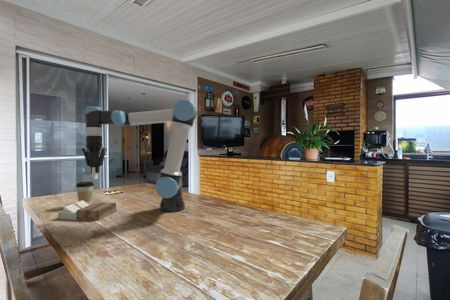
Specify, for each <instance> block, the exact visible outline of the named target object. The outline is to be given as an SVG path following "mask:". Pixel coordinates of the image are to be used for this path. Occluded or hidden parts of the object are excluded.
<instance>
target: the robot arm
mask: <svg viewBox="0 0 450 300" xmlns="http://www.w3.org/2000/svg"><path fill="white" fill-rule="evenodd" d="M197 113H198V112H197V109H196V106H195V103H193V102H192V101H191V100H190V99H186V98H181V99H179V100H177V101H175V103H174V105H173V107H172V108H171V109H170V108H169V109H159V110H148V111H137V112H124V111H123V110H117V109H115V110H102V108H101V106H93V105H92V106H91V105H90V106H87V107H85V113H84V116H85V135H86V137H85V142H86V146H85V147H84V148H82V149H81V151H82V152H83V155H84V160H85V163H86V166H87V167H90V173H91V179H92V180H98V179H99V173H100V167H102V166H103V165H104V160H105V154H106V152H107V150H108V149H107V147H104V146H103V135H102V134H103V133H102V131H103V130H102V129H103V128H102V127H103V125H113V126H117V127H122V128H127V127H129V126H139V125H140V126H141V125H151V124H162V123H164V124H165V123H172V125H173V127H172V131H171V136H170V139H169V145H168V150H167V154H166V158H165V162H164V168H162V169H161V170H160V171H159V176H158V180H157V181H156V183H155V191H156V193H157V195H158V196H159V197H161V200H160V204H159V211H161V212H167V213H170V212H171V213H174V212H179V211H182V210H185V209H186V203H185V200H184V198H183V172H182V171H181V166H182V163H183V158H184V154H185V148H186V144H187V140H188V136H189V130H190V129H191V128H193V125H194V123H195V122H194V121H195V120H196V118H197V115H198V114H197Z"/></svg>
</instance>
